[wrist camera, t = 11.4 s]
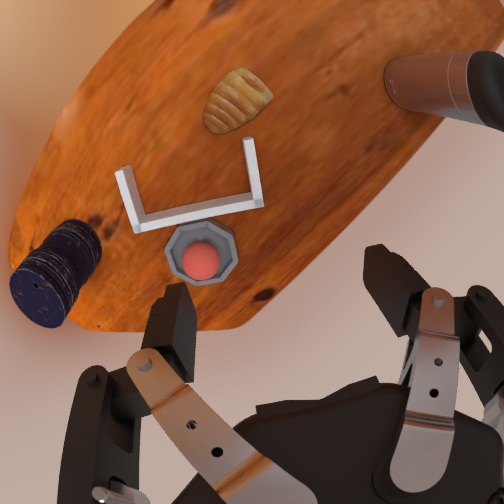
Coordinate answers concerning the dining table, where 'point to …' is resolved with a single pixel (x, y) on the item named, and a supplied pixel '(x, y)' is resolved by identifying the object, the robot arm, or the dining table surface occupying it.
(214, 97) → the pastry
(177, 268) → the dish
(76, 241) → the dark blue ridged cylinder
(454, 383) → the robot arm
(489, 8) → the dining table surface
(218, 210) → the white u-shaped bracket
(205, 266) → the ball
